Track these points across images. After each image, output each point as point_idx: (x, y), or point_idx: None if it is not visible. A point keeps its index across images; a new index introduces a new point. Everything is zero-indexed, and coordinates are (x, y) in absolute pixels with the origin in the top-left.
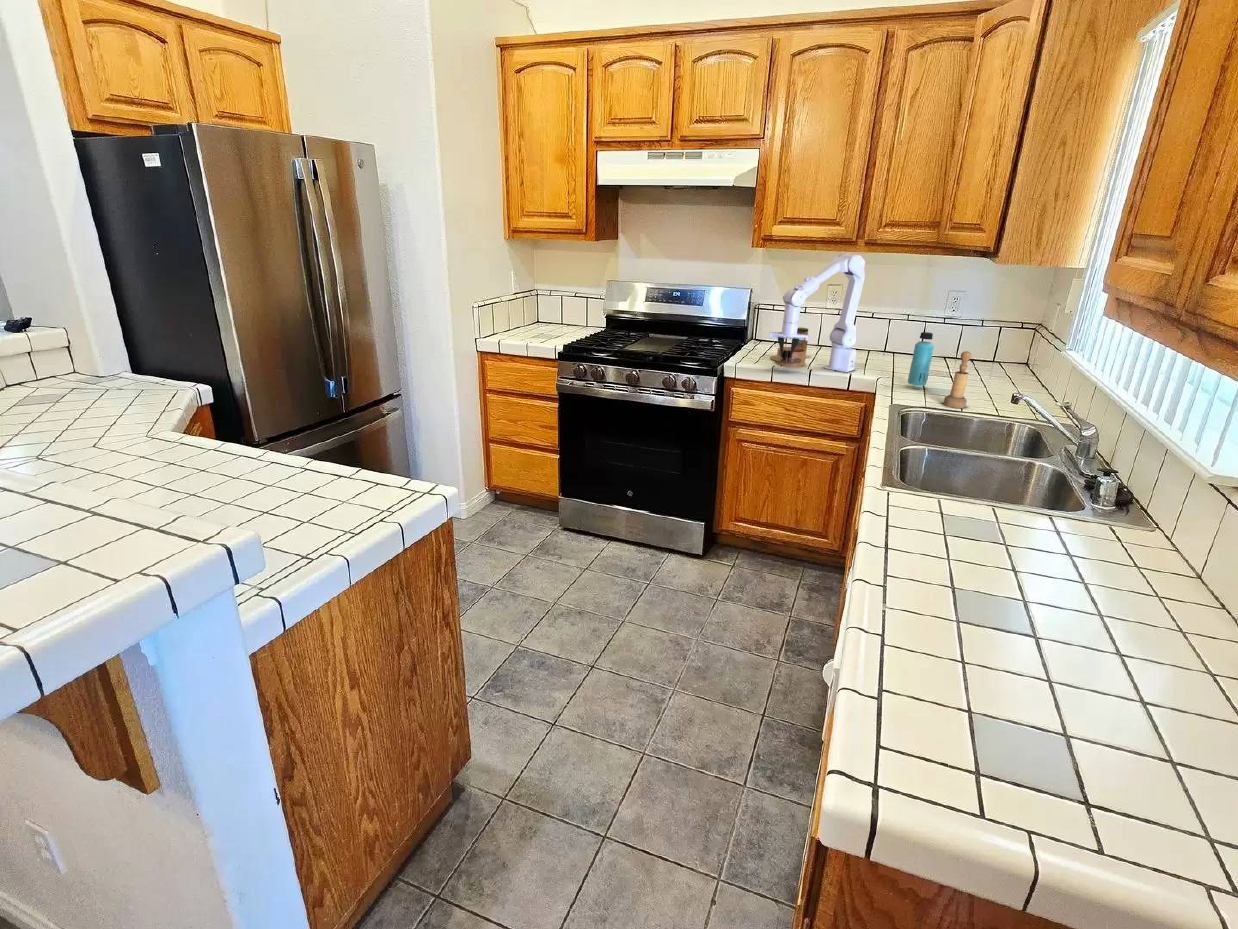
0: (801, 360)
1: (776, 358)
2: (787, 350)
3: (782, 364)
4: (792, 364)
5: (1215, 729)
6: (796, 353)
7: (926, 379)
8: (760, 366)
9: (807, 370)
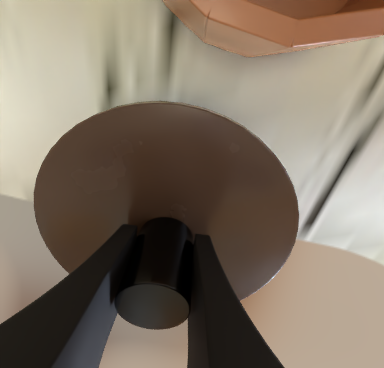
0: (282, 265)
1: (94, 247)
2: (157, 322)
3: (180, 19)
4: (261, 55)
5: None
6: (341, 40)
7: None
8: (22, 112)
9: (332, 153)
